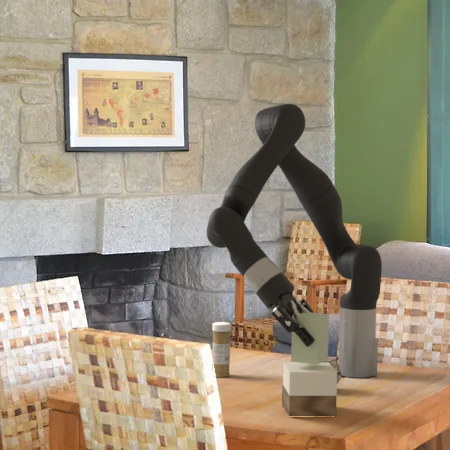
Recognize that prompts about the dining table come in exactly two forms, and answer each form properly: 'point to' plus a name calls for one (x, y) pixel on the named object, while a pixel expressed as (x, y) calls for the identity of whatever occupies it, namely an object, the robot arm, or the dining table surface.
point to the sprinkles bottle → (221, 348)
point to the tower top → (309, 379)
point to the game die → (336, 367)
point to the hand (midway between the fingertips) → (317, 341)
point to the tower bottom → (308, 405)
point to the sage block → (319, 331)
